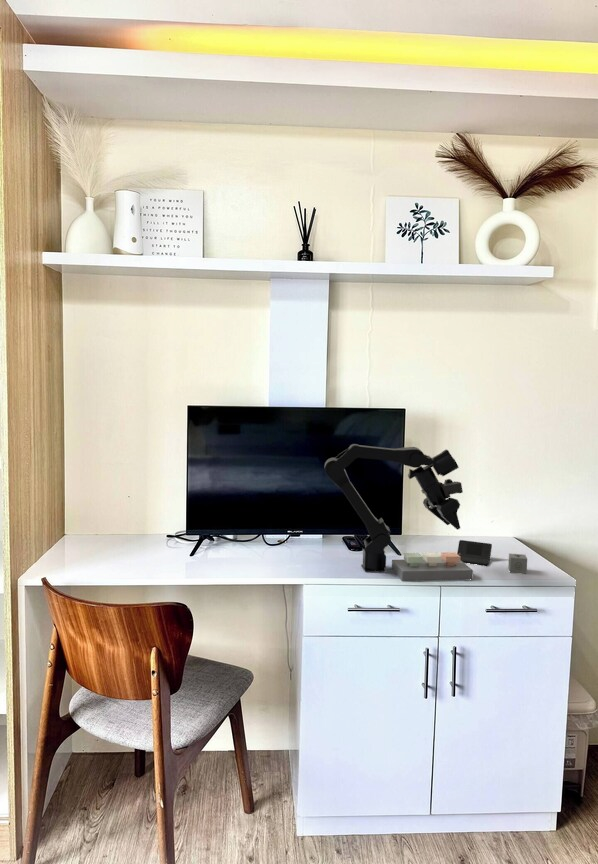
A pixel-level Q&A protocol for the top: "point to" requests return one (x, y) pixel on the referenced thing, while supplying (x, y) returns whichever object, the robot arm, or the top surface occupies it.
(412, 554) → the pale green cube
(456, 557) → the peach cube
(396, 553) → the top surface
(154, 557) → the top surface
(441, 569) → the gray rectangular slab
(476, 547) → the handheld gaming console
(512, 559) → the dice cube
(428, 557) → the cream cube
